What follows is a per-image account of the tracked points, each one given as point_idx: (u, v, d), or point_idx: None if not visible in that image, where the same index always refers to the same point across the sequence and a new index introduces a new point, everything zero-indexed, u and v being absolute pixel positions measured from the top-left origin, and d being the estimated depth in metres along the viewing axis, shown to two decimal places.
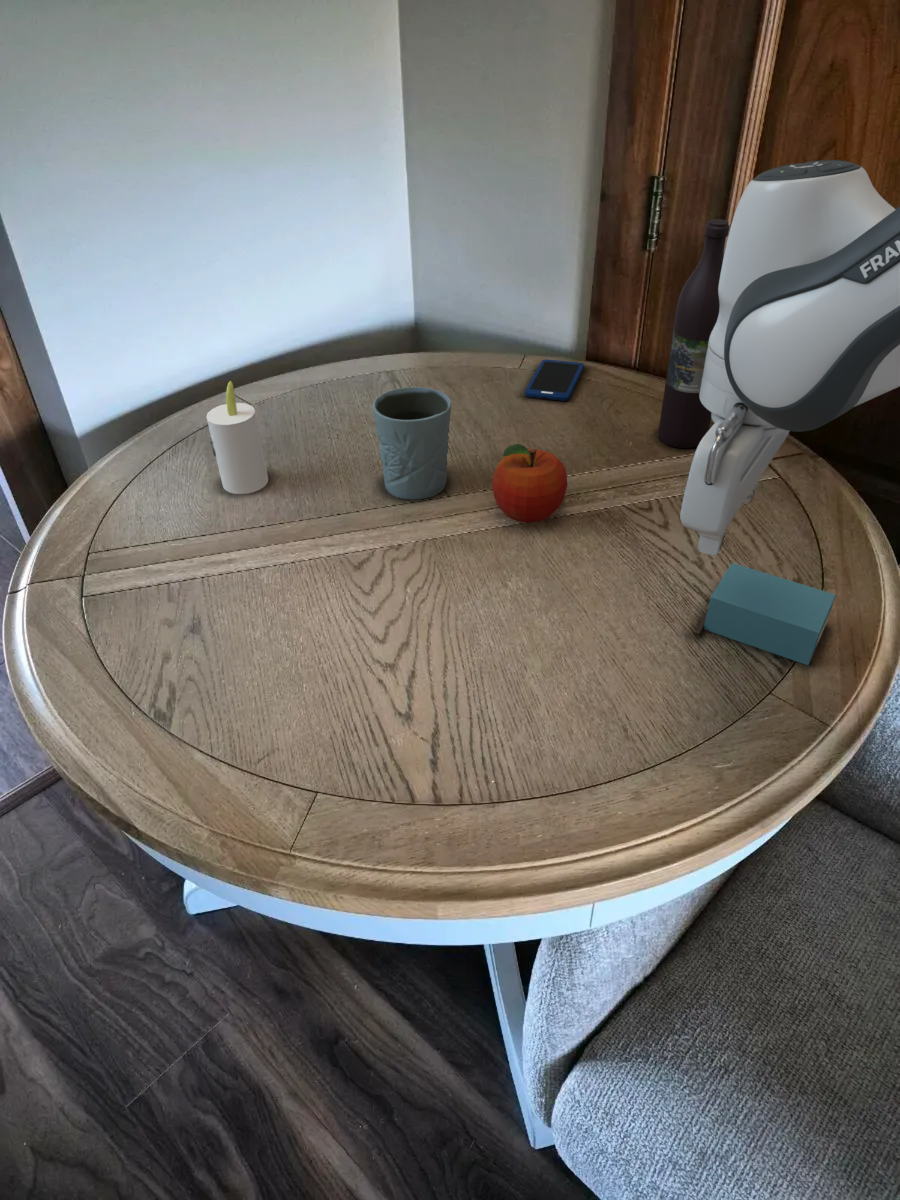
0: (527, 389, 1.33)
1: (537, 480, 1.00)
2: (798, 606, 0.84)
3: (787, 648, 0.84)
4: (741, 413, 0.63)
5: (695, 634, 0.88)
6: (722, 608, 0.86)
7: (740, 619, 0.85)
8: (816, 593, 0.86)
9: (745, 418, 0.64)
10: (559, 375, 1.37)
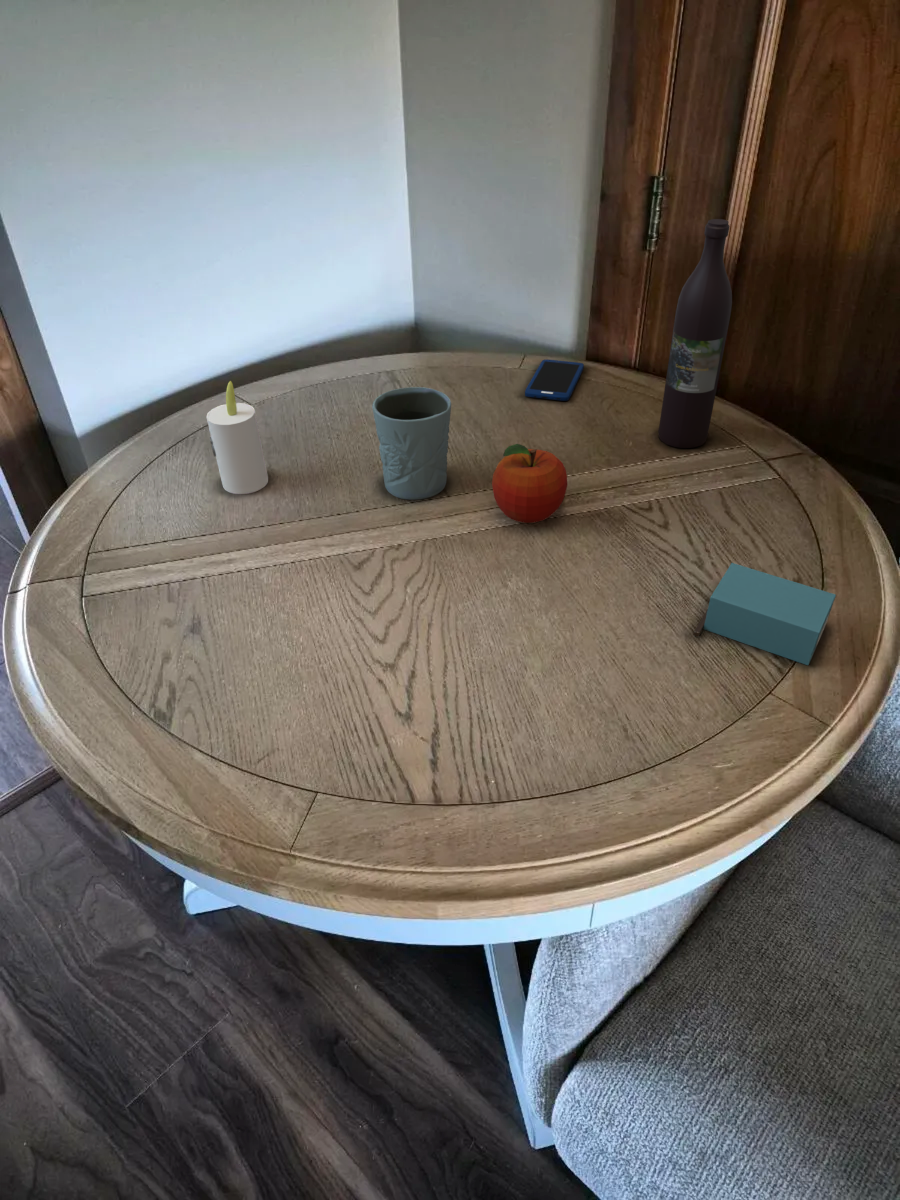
0: (527, 389, 1.33)
1: (537, 480, 1.00)
2: (798, 606, 0.84)
3: (787, 648, 0.84)
4: None
5: (695, 634, 0.88)
6: (722, 608, 0.86)
7: (740, 619, 0.85)
8: (816, 593, 0.86)
9: None
10: (559, 375, 1.37)
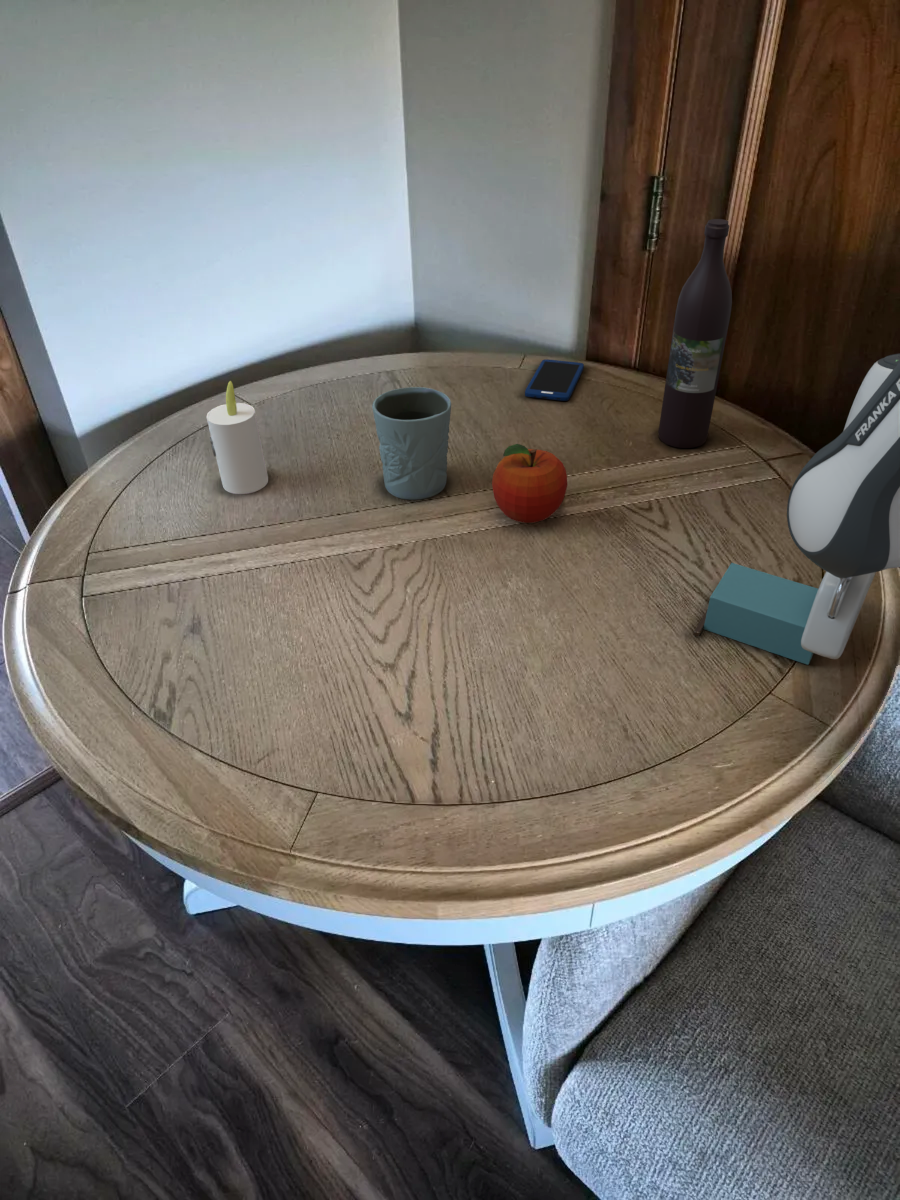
0: (527, 389, 1.33)
1: (537, 480, 1.00)
2: (797, 606, 0.84)
3: (787, 648, 0.84)
4: None
5: (695, 634, 0.88)
6: (721, 608, 0.86)
7: (740, 618, 0.85)
8: (816, 592, 0.86)
9: None
10: (559, 375, 1.37)
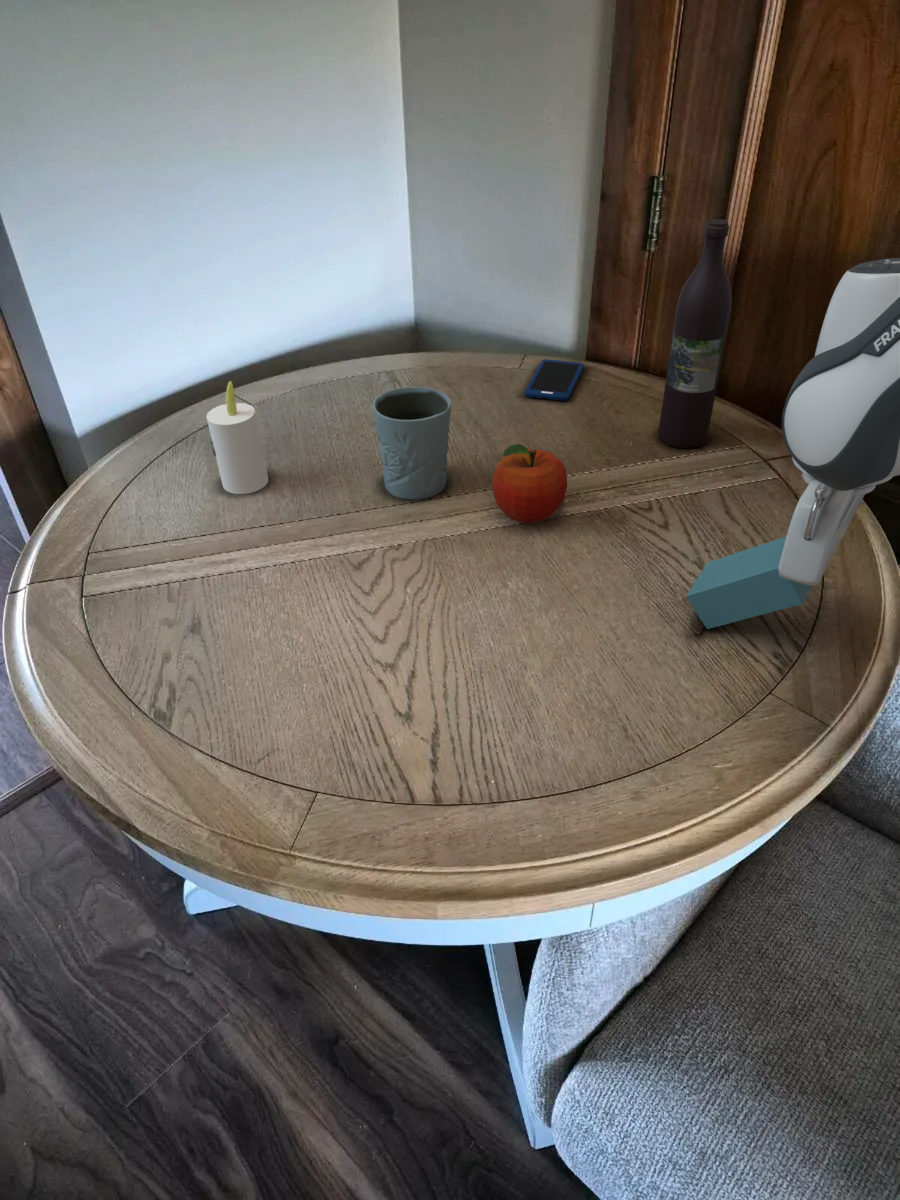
0: (527, 389, 1.33)
1: (537, 480, 1.00)
2: (763, 559, 0.83)
3: (774, 599, 0.82)
4: None
5: (695, 634, 0.88)
6: (701, 600, 0.87)
7: (721, 599, 0.85)
8: (781, 540, 0.85)
9: None
10: (559, 375, 1.37)
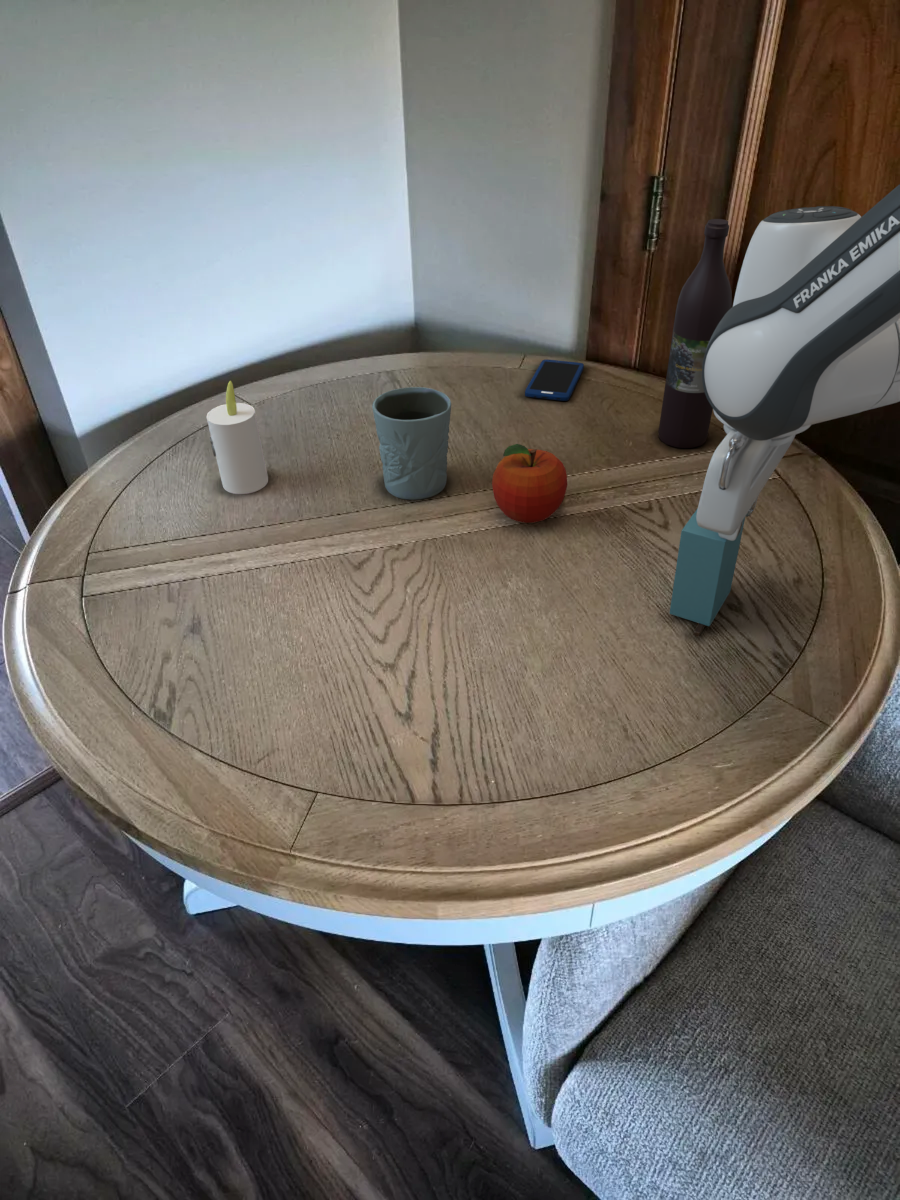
0: (527, 389, 1.33)
1: (537, 480, 1.00)
2: None
3: (709, 557, 0.83)
4: None
5: (695, 634, 0.88)
6: (679, 606, 0.89)
7: (686, 593, 0.87)
8: None
9: None
10: (559, 375, 1.37)
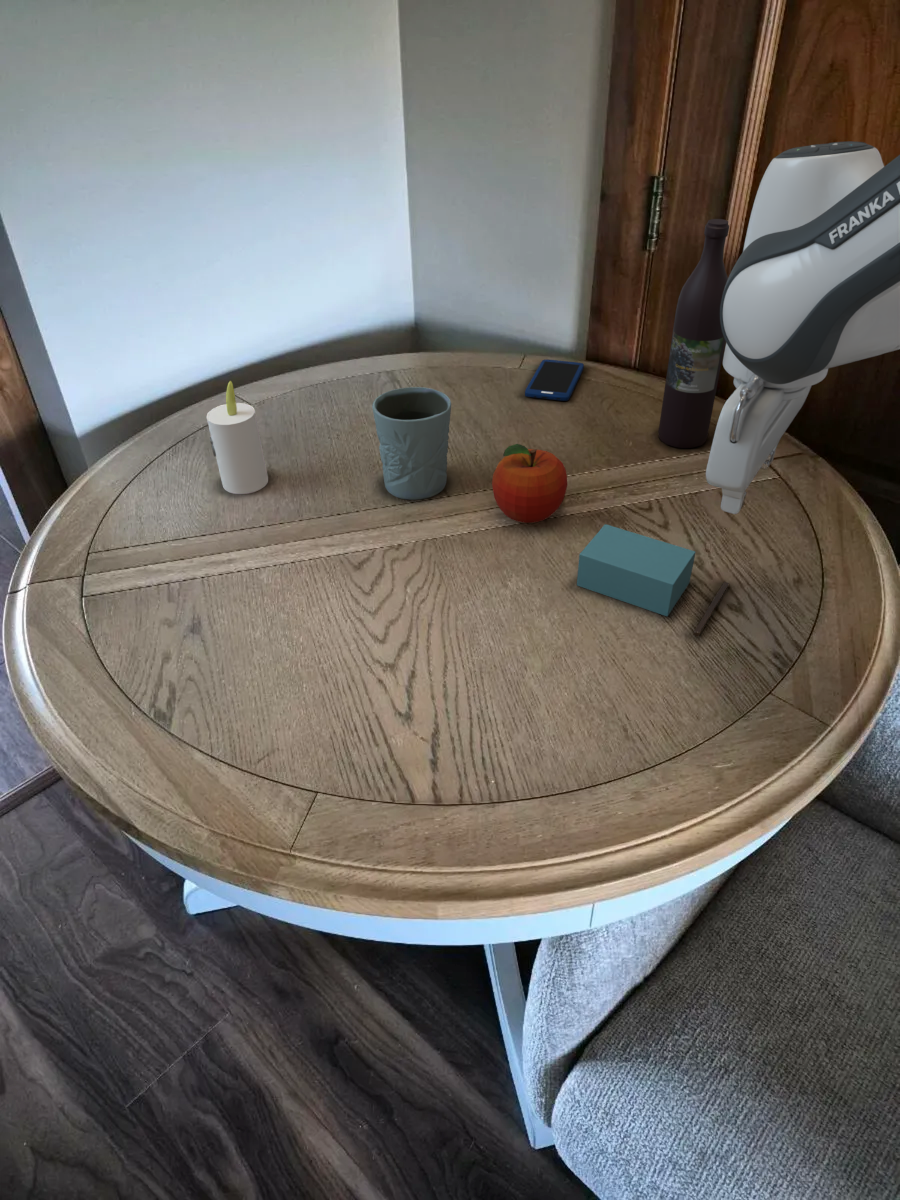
0: (527, 389, 1.33)
1: (537, 480, 1.00)
2: None
3: (597, 569, 0.92)
4: None
5: (695, 634, 0.88)
6: (656, 605, 0.90)
7: (639, 596, 0.91)
8: None
9: (766, 382, 0.69)
10: (559, 375, 1.37)
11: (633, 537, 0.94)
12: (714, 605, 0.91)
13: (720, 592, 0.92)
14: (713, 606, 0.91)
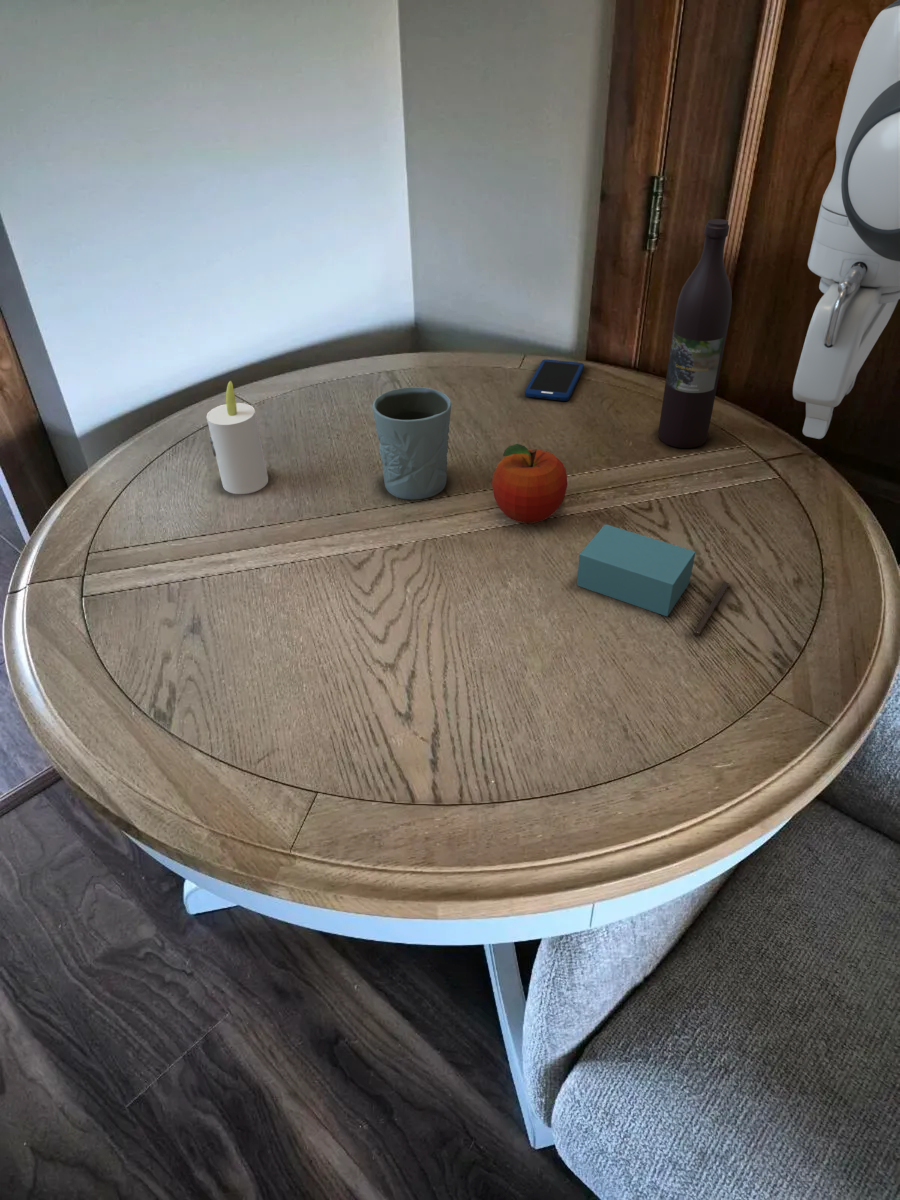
0: (527, 389, 1.33)
1: (537, 480, 1.00)
2: None
3: (597, 569, 0.92)
4: (862, 271, 0.60)
5: (695, 634, 0.88)
6: (656, 605, 0.90)
7: (639, 596, 0.91)
8: None
9: (864, 279, 0.61)
10: (559, 375, 1.37)
11: (633, 537, 0.94)
12: (714, 605, 0.91)
13: (720, 592, 0.92)
14: (713, 606, 0.91)
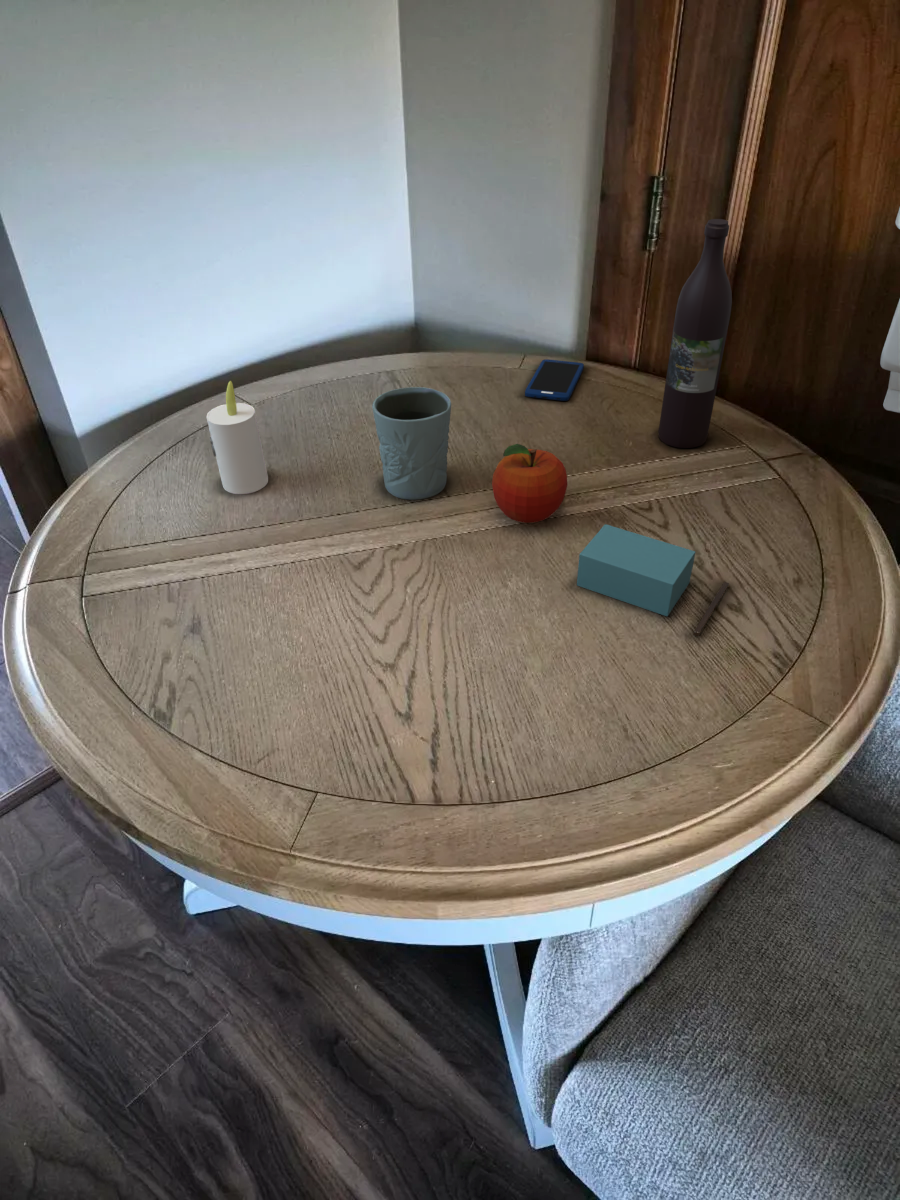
0: (527, 389, 1.33)
1: (537, 480, 1.00)
2: None
3: (597, 569, 0.92)
4: None
5: (695, 634, 0.88)
6: (656, 605, 0.90)
7: (639, 596, 0.91)
8: None
9: None
10: (559, 375, 1.37)
11: (633, 537, 0.94)
12: (714, 605, 0.91)
13: (720, 592, 0.92)
14: (713, 606, 0.91)
